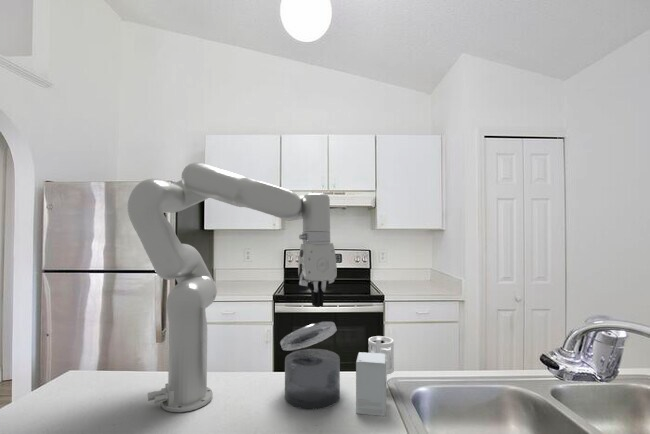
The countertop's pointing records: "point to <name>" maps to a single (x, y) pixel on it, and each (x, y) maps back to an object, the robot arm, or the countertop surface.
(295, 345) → the lid
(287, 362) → the grey rounded cylinder
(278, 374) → the countertop surface
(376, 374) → the supplement box
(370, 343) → the white caged cylinder
